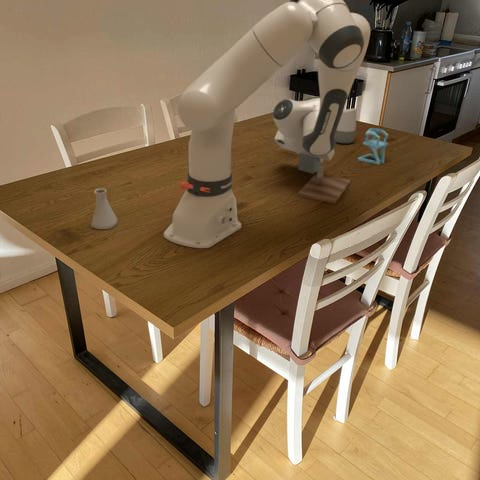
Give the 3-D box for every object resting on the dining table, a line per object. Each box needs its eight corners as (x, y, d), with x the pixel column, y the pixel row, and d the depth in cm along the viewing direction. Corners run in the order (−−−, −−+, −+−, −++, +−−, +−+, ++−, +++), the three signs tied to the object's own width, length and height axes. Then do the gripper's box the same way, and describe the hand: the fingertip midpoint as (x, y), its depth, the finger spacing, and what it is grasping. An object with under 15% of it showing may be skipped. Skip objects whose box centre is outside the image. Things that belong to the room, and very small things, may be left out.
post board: (335, 203, 148) (338, 178, 144) (297, 196, 152) (299, 171, 148) (349, 183, 162) (353, 160, 158) (315, 177, 167) (317, 154, 163)
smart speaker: (337, 137, 207) (341, 103, 200) (357, 141, 202) (362, 107, 196) (327, 142, 200) (331, 108, 194) (348, 146, 196) (352, 112, 189)
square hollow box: (312, 173, 169) (315, 151, 165) (298, 169, 172) (300, 148, 169) (321, 169, 173) (323, 147, 169) (307, 165, 177) (309, 143, 173)
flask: (111, 231, 130) (107, 197, 125) (86, 228, 131) (81, 194, 126) (122, 219, 136) (118, 186, 131) (98, 217, 137) (93, 184, 132)
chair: (375, 166, 177) (381, 134, 171) (357, 160, 183) (362, 128, 177) (387, 161, 182) (393, 130, 176) (369, 155, 187) (374, 125, 181)
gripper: (331, 134, 155) (342, 156, 166) (278, 122, 165) (291, 143, 177) (322, 151, 154) (334, 172, 165) (270, 138, 165) (284, 158, 176)
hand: (311, 157), depth 171 cm, fingers closed on square hollow box, 6 cm apart
